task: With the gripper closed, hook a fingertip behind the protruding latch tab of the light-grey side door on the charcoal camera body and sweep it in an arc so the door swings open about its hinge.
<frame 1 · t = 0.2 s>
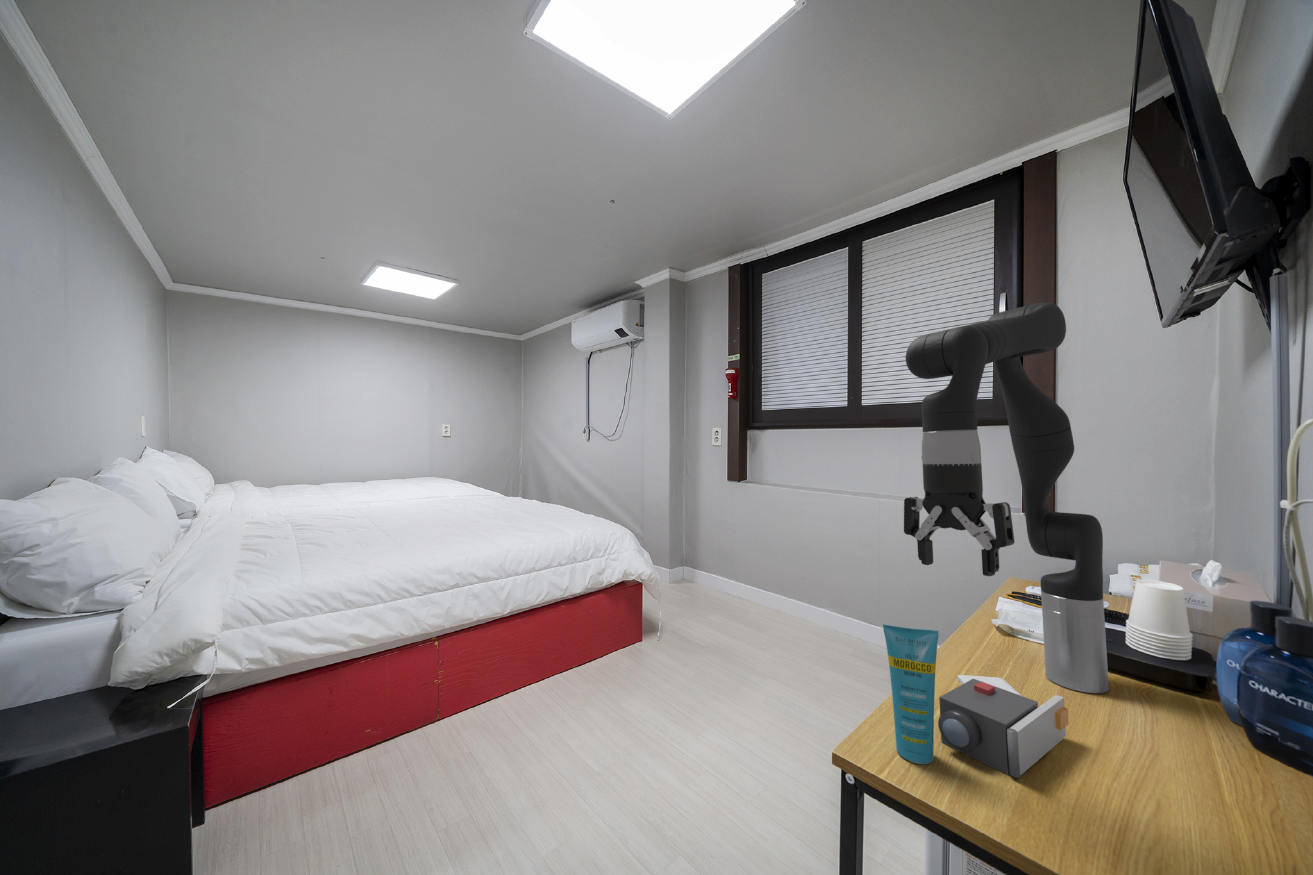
hand: (956, 569, 69), 28 cm above the table, tool pointing down, fingers open, 8 cm apart
door: (1039, 734, 69), point 4 cm above the table, hinge at 0.0°
camera body: (990, 745, 72), on the table
external hard drive: (996, 701, 86), on the table
tube: (915, 756, 70), on the table
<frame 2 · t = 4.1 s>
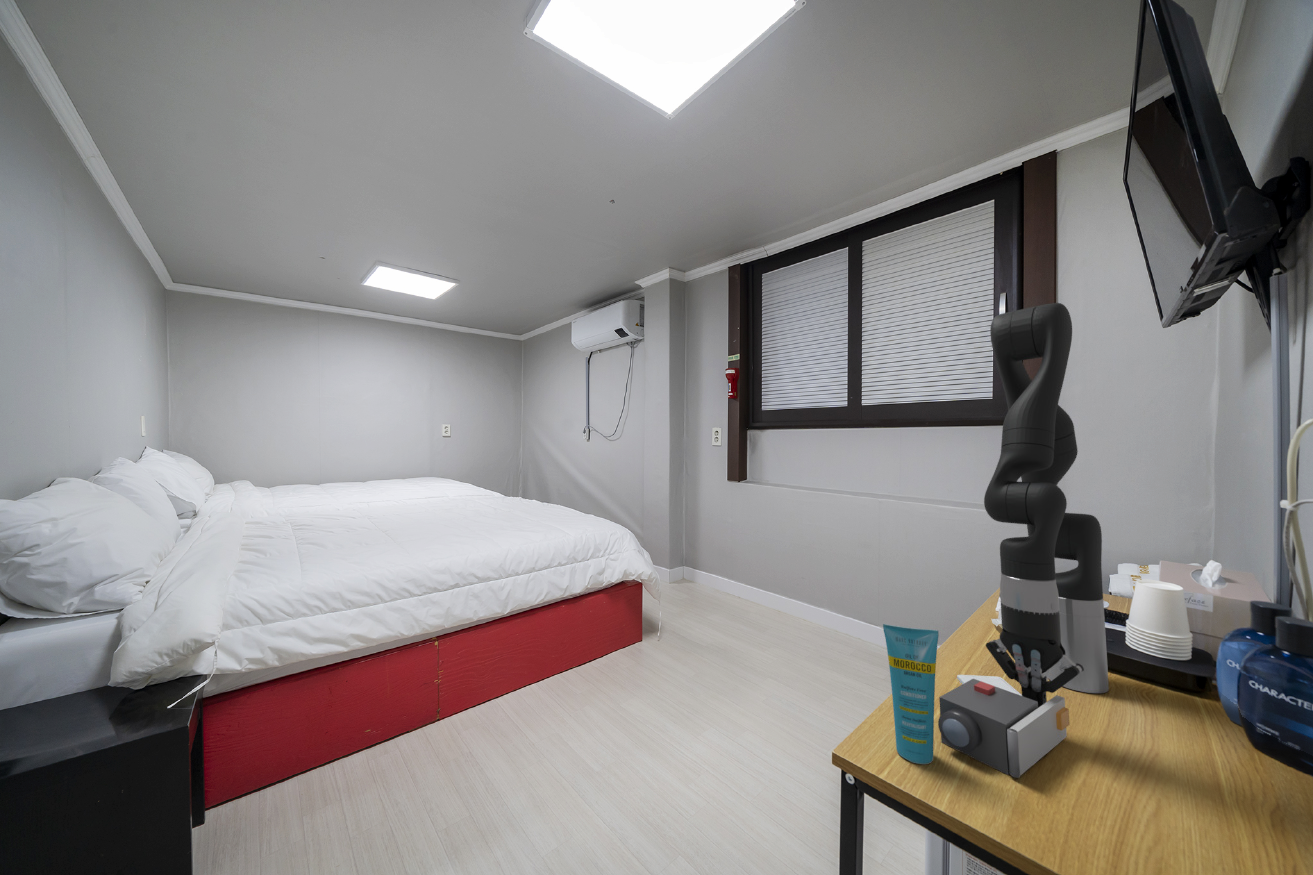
hand: (1034, 711, 75), 4 cm above the table, tool pointing down, fingers closed
door: (1040, 734, 68), point 4 cm above the table, hinge at 0.4°, touching gripper
everything else where it was.
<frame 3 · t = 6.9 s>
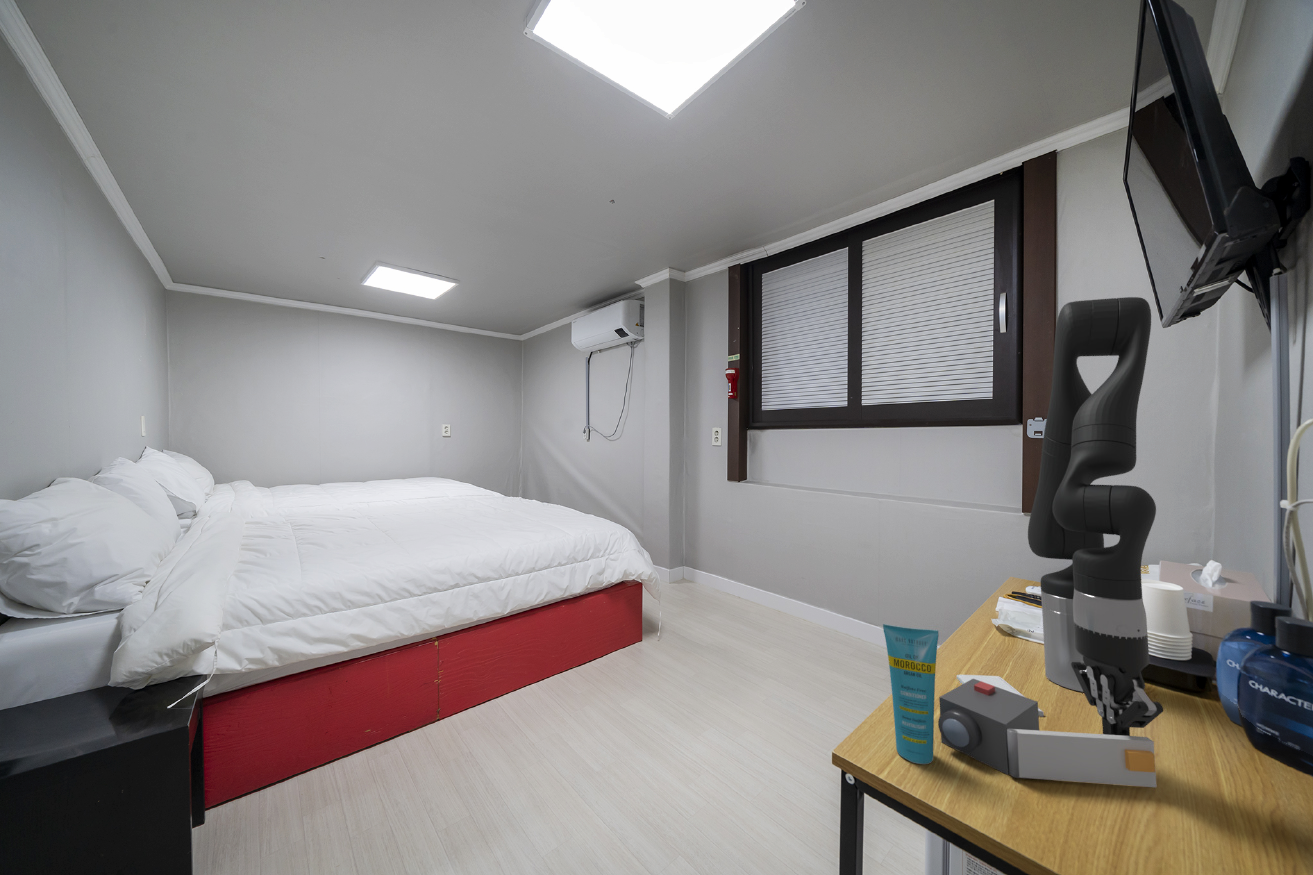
hand: (1116, 747, 65), 4 cm above the table, tool pointing down, fingers closed
door: (1080, 758, 63), point 4 cm above the table, hinge at 39.8°, touching gripper
everything else where it was.
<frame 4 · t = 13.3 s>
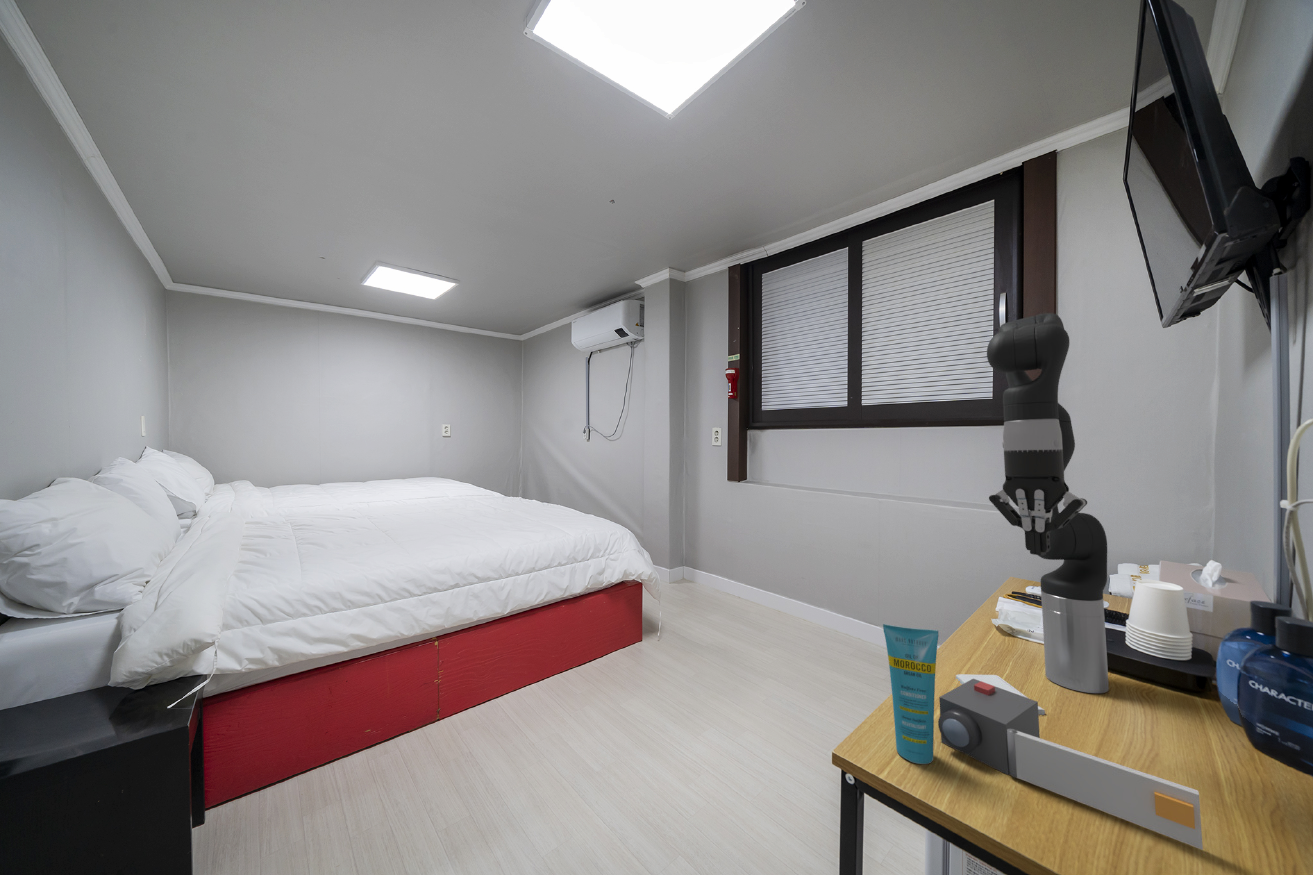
hand: (1038, 554, 75), 29 cm above the table, tool pointing down, fingers closed
door: (1093, 782, 58), point 4 cm above the table, hinge at 77.7°
everything else where it was.
at the end: door at +78° (first picture: +0°); door touching nothing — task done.
